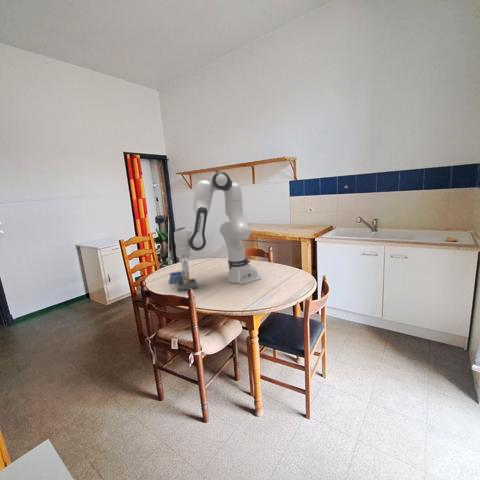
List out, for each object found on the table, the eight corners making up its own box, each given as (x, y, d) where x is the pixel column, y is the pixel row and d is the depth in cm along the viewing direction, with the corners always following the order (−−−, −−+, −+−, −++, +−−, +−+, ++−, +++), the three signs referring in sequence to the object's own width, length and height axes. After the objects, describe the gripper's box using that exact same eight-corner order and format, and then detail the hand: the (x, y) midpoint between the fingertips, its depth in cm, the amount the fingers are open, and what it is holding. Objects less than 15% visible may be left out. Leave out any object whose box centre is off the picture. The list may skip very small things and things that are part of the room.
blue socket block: (183, 277, 186) (182, 271, 185) (184, 282, 178) (183, 275, 177) (170, 279, 184) (169, 273, 183) (170, 284, 176) (169, 277, 175)
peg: (189, 283, 172) (188, 269, 169) (190, 285, 168) (188, 270, 166) (183, 284, 171) (181, 270, 168) (184, 286, 167) (182, 271, 165)
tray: (195, 281, 177) (195, 278, 176) (197, 288, 165) (197, 284, 165) (177, 284, 174) (177, 281, 173) (178, 291, 162) (177, 287, 162)
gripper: (189, 256, 156) (192, 278, 159) (187, 249, 175) (189, 268, 178) (178, 258, 154) (181, 280, 157) (177, 250, 173) (180, 270, 176)
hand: (185, 274), depth 168 cm, fingers open, 8 cm apart
